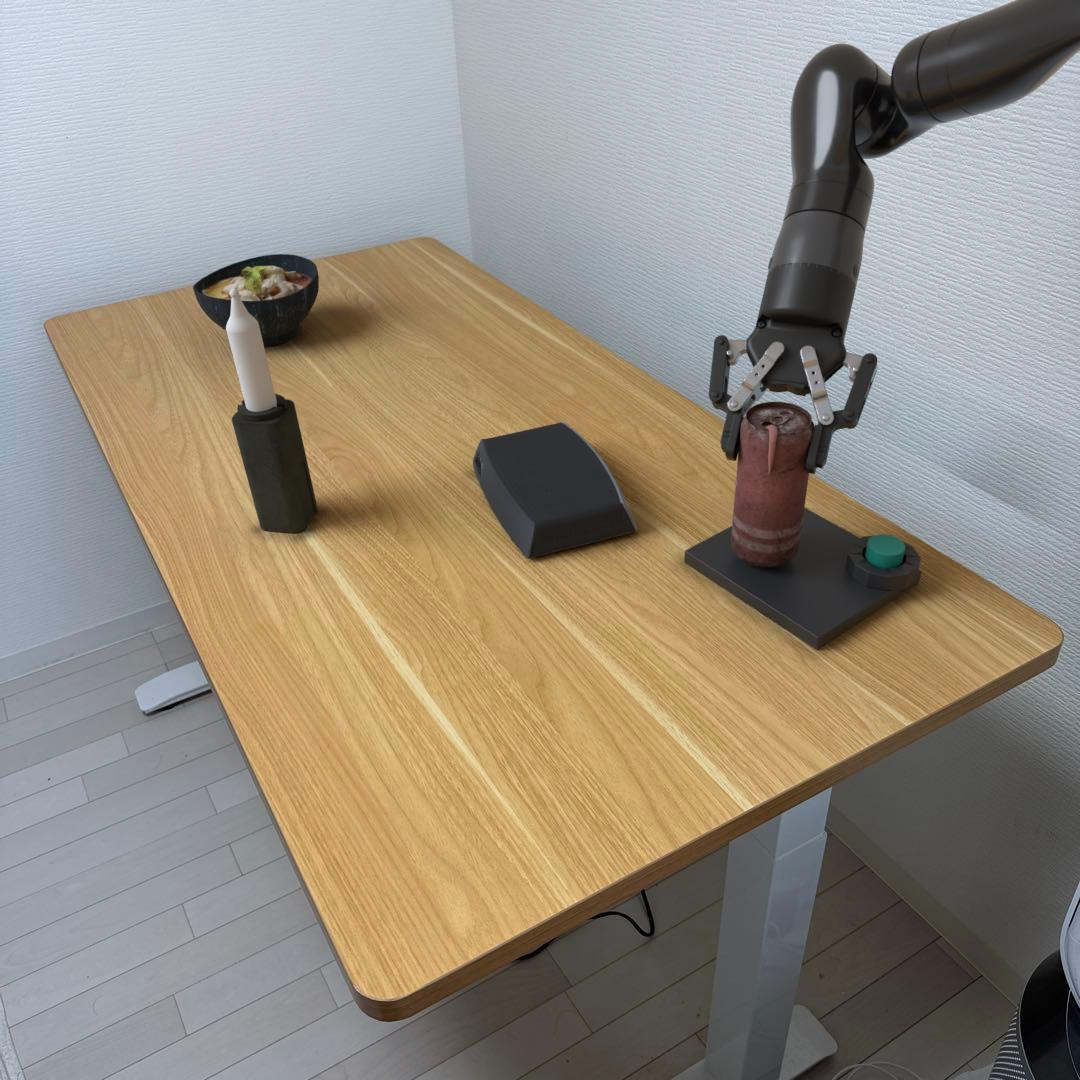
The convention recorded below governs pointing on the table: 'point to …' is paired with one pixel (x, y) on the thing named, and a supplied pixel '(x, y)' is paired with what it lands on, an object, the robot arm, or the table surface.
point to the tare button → (885, 551)
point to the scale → (809, 580)
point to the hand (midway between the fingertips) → (769, 464)
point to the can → (771, 483)
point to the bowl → (263, 293)
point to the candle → (268, 433)
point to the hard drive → (551, 490)
